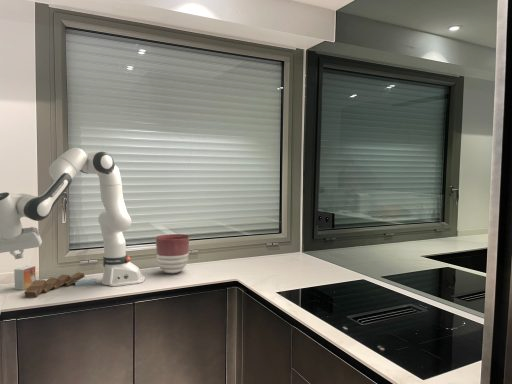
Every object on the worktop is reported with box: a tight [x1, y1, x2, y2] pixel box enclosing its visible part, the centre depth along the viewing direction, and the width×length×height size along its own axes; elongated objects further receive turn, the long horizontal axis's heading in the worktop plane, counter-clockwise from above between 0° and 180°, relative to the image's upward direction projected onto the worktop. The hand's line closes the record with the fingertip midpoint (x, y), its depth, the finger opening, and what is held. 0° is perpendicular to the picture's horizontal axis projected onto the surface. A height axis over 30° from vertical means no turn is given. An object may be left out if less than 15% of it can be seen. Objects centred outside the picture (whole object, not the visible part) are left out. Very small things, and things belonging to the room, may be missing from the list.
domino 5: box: [74, 278, 97, 287], centre depth 198 cm, size 2×5×10 cm
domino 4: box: [62, 271, 86, 287], centre depth 199 cm, size 2×5×10 cm
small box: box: [13, 265, 37, 291], centre depth 191 cm, size 8×6×10 cm
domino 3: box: [50, 273, 71, 290], centre depth 193 cm, size 2×5×10 cm
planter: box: [155, 233, 190, 274], centre depth 221 cm, size 20×20×21 cm
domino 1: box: [24, 279, 47, 298], centre depth 181 cm, size 3×5×10 cm
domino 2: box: [40, 276, 60, 294], centre depth 188 cm, size 2×5×10 cm
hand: (19, 258), depth 163 cm, fingers closed
